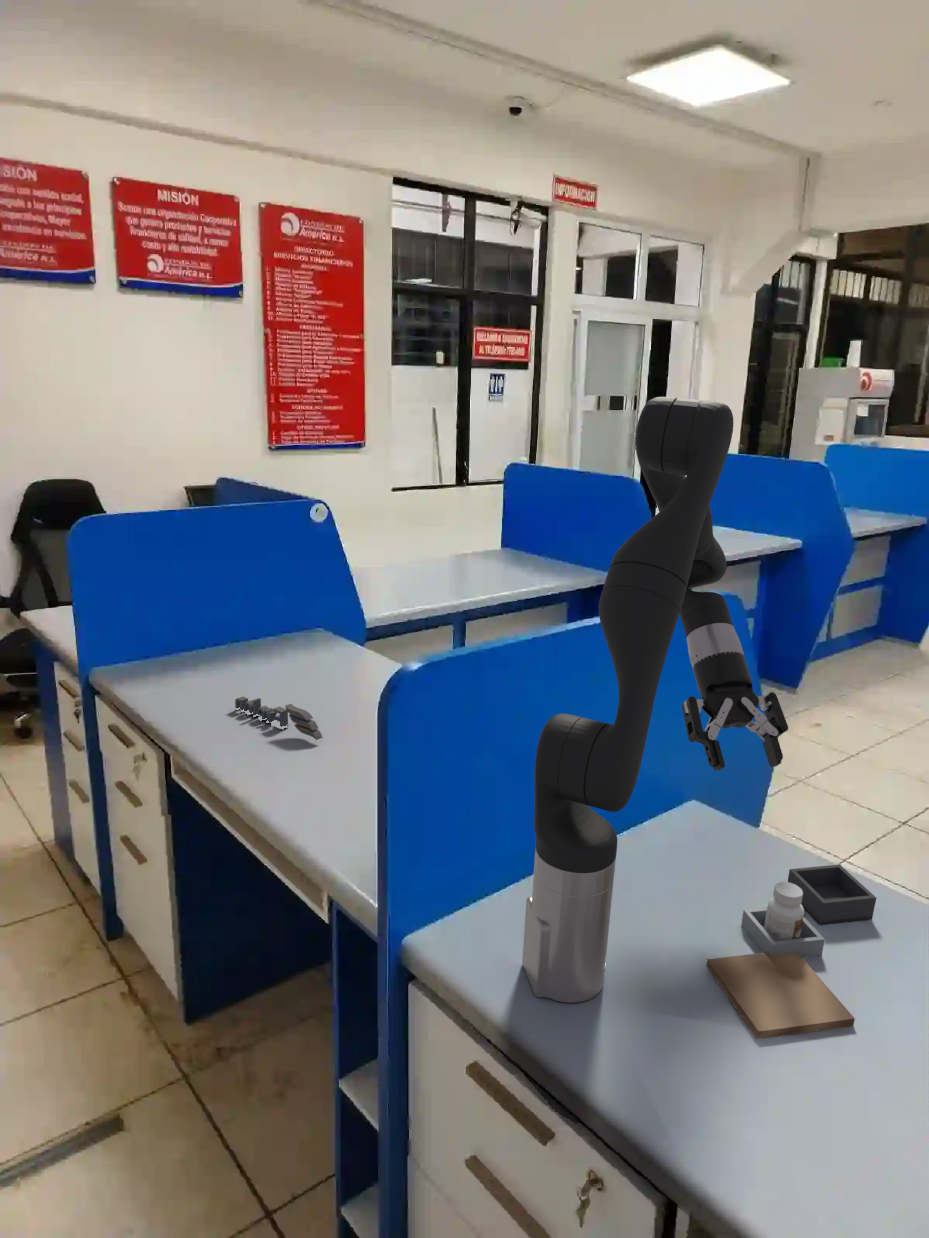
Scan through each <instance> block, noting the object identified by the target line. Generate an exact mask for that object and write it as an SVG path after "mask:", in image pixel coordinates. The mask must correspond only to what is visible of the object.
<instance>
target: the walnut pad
mask: <svg viewBox="0 0 929 1238" xmlns="http://www.w3.org/2000/svg"><path fill="white" fill-rule="evenodd" d="M706 968H707V969H708V970H709V972H710V974H711V975H712V976H713V978H714V979H715V981H716V982H717V983H718V984H719V986H720V988H721V989H722V990H723V992H724V993H725V995H726V996H727V998H728V999H729V1001H730V1002H731V1003H732V1005H733V1006H734V1008H735V1009H736V1011H737V1012H738V1014H739V1015H740V1016H741V1017H742V1019H743V1020H744V1022H745V1023H746V1025H747V1026H748V1028H749V1029H750V1031H751V1032H752V1033H753V1035H754V1036H755V1037H756V1039H757V1040H761V1039H766V1038H772V1037H773V1038H775V1037H780V1036H788V1035H789V1036H790V1035H796V1034H802V1033H810V1032H817V1031H816V1030H819V1031H826V1030H833V1029H838V1028H839V1029H840V1028H847V1027H853V1026H854V1024H855V1020H856V1017H854V1016H853V1014H852V1013H850V1011H849V1009H847V1007H845V1005H844V1004H843V1003H842V1002H841V1001H840V1000H839V998H838V997H837V996H836V995H835V993H833V991H832V990H831V989H830V988H829V987H828V986H827V985H826V983H825V982H824V981H823V980H822V979H821V977H820V976H818V974H817V973H816V972H815V971H814V970H813V968H812V967H811V966H810V965H809V964H808V963H807V961H805V958H802V957H801V956H800V955H799V954H798V952H795V953H787V954H778V955H771V954H770V953H769V952H766V953H763V952H758V953H750V954H743V955H742V954H741V955H734V956H733V955H732V956H724V957H715V958H707V959H706ZM832 1028H833V1029H832Z"/></svg>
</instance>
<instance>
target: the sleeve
mask: <svg viewBox="0 0 929 1238" xmlns="http://www.w3.org/2000/svg"><path fill="white" fill-rule="evenodd" d="M742 912H743V913H742V917H741V924H740V926H741V928H742V929H743V930H744V931H745V933H746V934H747V935H748V936H749V938H750V939H751V940H752V941H753V942H754V943H755V945H756V946H757V947H758V949H759V950H760V951H761V953H766V952H769V953H770V954H771V955H778V954H787V953H795V952H798V954H799V955H800V956H801V957H802V958H803V959H807V958H816V957H822V956H823V952H824V951H823V950H824V946H825V940H826V939H825V938H824V936H822V934H820V932H818V930H817V929H816V928H815V927H814V926H813V925H812V924H811V923H810V921H808V920H807V918H805V917H804V916H803V921H802V927H801V933H800V939H793V940H784V941H774V940H773V939H772V937H771V936H770V935H769V934H768V933H767V932H766V930H765V929H764V925H765V919H766V913H767V907H759V908H748V909H743V911H742Z"/></svg>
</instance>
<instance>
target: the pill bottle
mask: <svg viewBox="0 0 929 1238" xmlns="http://www.w3.org/2000/svg"><path fill="white" fill-rule="evenodd" d="M772 893H773V896H772V897H771V898H769V900H768V902H767V913H766V919H765V925H764V927H763V928H764V929H765V930H766V932H767V933H768V934H769V935H770V936H771V937H772V939H773V940H774V941H784V940H793V939H801V938H800V933H801V927H802V921H803V916H804V915H805V910H804V908H803V906H802V905H801V903H802V897H803V891H802V889H801V888H800V887H798V886H797V885H795V884H792V883H789V882H788V881H779V882H777V883H775V885H774V888H773V892H772Z"/></svg>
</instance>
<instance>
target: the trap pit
mask: <svg viewBox="0 0 929 1238" xmlns="http://www.w3.org/2000/svg"><path fill="white" fill-rule="evenodd" d="M787 882H789V883H792V884H795V885H797V886H798V887H800V888H801V889H802V891H803V897H802V903H801V905H802V906H803V908H804V912H805V913H807V914H808V915H809V916H810V917H811V919H813V920H814V922H815V923H816V924H817V925H818V926H819V927H821V926H829V925H830V926H831V925H836V924H837V925H838V924H845V923H847V924H848V923H856V922H867V921H873V916H874V912H875V907H876V902H877V897H876V896H875V894H873V893H872V892H871V891H870V890H869V889H867V888H866V887H865V886H864V884H862V883H861V882H860V881H858V879H856V878H855V877H854V876H853V875H852V874H851V873H850V872H849V871H848V870H846V868H844V867H843V866H842V865H841V864H830V865H821V866H809V867H800V868H798V867H797V868H789V871H788V877H787Z"/></svg>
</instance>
